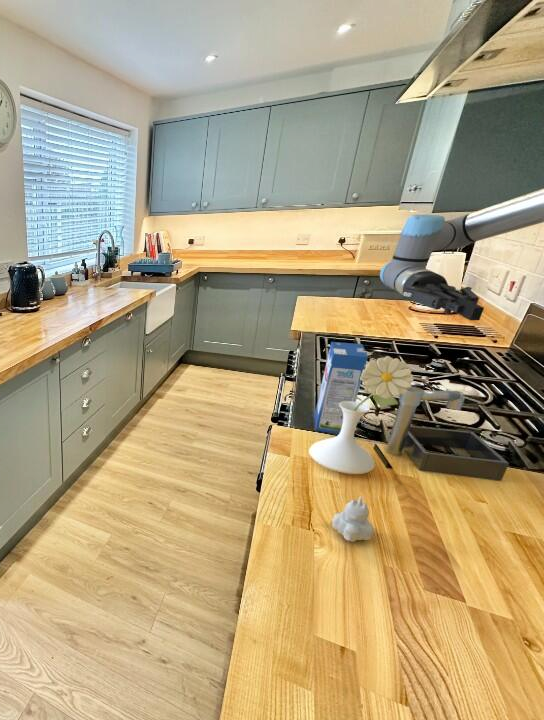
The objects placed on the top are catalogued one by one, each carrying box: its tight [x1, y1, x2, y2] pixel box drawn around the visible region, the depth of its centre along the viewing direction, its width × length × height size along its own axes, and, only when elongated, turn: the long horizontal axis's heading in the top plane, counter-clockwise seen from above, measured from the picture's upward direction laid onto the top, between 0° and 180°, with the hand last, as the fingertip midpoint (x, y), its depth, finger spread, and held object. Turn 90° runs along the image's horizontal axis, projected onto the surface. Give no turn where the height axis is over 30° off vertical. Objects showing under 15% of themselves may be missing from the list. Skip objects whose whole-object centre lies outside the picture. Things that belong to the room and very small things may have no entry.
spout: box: [398, 386, 466, 411], centre depth 84 cm, size 11×3×4 cm, turn 80°
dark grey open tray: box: [402, 425, 510, 482], centre depth 86 cm, size 12×12×6 cm
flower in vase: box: [308, 355, 414, 475], centre depth 84 cm, size 13×11×25 cm
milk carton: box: [314, 341, 369, 435], centre depth 101 cm, size 10×6×20 cm, turn 149°
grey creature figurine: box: [331, 496, 374, 543], centre depth 69 cm, size 5×7×8 cm
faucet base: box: [373, 402, 418, 469], centre depth 87 cm, size 4×8×13 cm, turn 159°
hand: (477, 314), depth 86 cm, fingers closed
